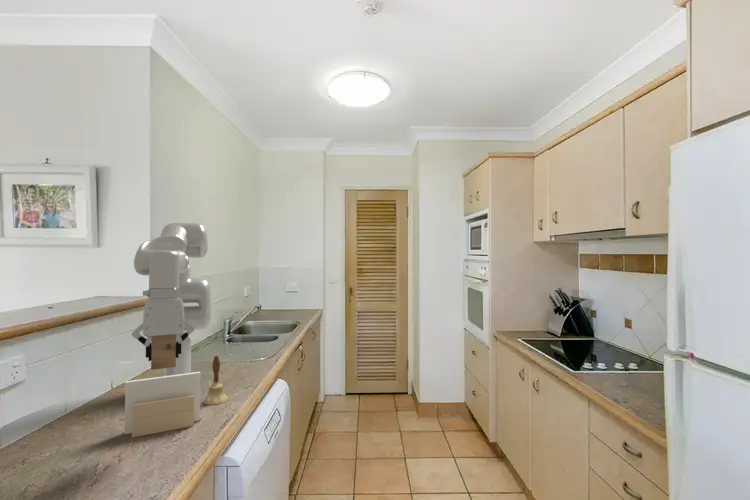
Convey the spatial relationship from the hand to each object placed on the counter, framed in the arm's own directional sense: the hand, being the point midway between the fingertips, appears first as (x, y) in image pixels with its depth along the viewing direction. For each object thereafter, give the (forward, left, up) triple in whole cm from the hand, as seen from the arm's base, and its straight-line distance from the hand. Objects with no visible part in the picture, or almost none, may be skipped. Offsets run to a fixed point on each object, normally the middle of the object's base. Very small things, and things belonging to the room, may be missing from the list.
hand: (163, 357), depth 107 cm
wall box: (-2, 0, -3) cm, 3 cm away
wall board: (-10, 0, -23) cm, 25 cm away
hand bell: (-25, +16, -24) cm, 38 cm away
